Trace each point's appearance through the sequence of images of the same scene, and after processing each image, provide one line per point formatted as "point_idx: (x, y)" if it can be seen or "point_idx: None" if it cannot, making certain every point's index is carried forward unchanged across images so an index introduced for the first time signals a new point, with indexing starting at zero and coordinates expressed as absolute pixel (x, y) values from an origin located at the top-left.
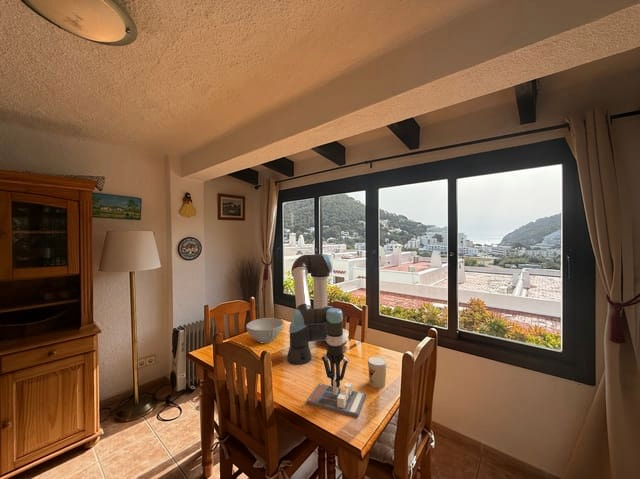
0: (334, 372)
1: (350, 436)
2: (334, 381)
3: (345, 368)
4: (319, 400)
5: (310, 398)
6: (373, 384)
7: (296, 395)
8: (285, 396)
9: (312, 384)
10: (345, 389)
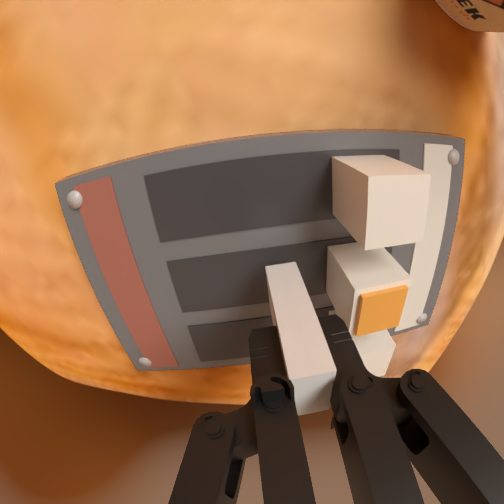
0: (306, 466)
1: None
2: (308, 407)
3: (496, 477)
4: (196, 349)
5: (138, 352)
6: (468, 20)
7: (53, 322)
8: (36, 342)
9: (26, 189)
10: (393, 309)
